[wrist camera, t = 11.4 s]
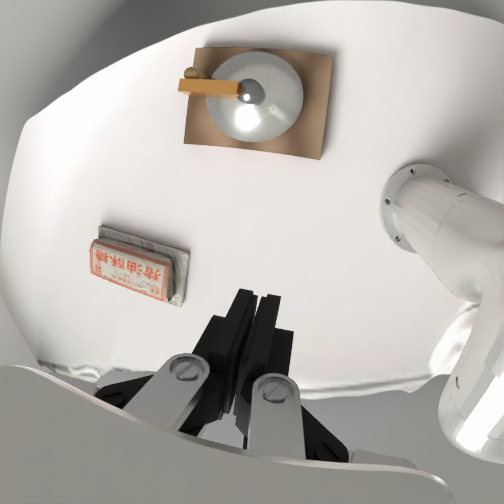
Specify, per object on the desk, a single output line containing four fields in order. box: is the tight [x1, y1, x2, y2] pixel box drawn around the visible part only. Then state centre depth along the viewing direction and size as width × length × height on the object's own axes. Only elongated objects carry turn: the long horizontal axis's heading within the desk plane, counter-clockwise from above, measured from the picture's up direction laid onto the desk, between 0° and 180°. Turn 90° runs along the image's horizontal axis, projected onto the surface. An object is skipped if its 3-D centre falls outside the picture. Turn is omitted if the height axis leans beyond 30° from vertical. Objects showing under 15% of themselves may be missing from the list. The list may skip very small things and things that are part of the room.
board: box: [184, 47, 333, 160], centre depth 31 cm, size 18×14×7 cm
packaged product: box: [89, 226, 189, 307], centre depth 45 cm, size 18×5×10 cm
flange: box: [178, 51, 303, 142], centre depth 30 cm, size 14×12×5 cm
